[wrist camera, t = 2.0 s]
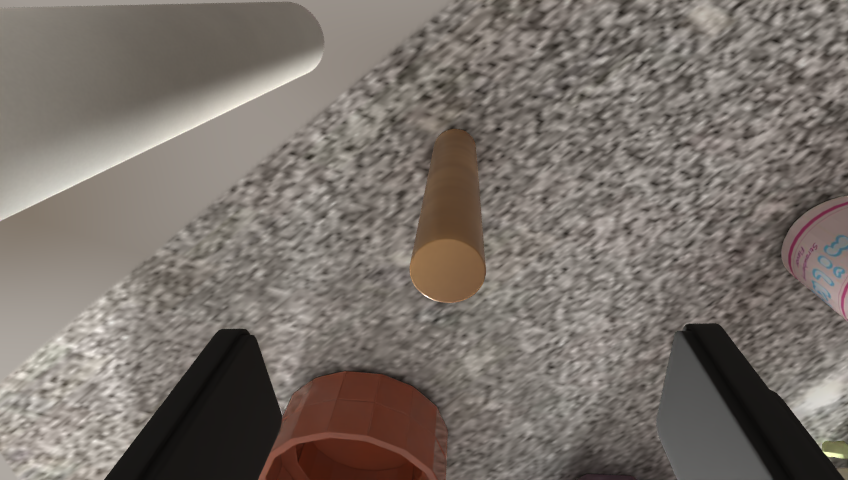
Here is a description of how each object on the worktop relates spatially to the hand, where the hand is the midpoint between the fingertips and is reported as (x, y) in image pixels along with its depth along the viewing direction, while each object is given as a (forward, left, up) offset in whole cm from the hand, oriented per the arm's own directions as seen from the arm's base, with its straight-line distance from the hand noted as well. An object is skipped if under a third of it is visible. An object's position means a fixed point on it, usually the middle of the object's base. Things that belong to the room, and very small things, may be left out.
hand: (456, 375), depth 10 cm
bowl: (+4, -24, -17) cm, 30 cm away
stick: (0, 0, -17) cm, 17 cm away
